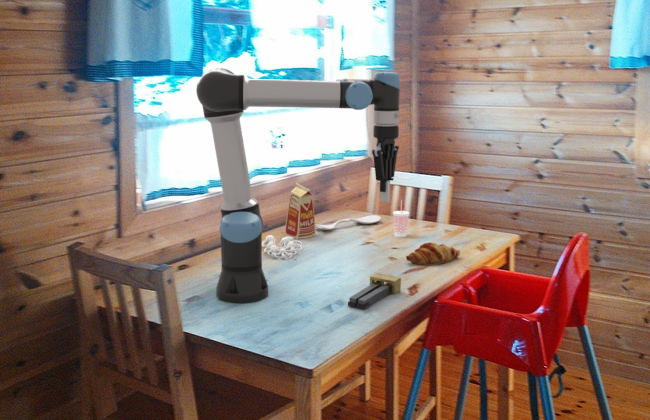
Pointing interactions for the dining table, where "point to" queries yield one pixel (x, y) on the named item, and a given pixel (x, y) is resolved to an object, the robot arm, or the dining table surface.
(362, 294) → the tongs arm
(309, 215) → the milk carton
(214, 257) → the dining table surface
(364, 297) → the tongs fixed arm
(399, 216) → the beverage cup
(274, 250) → the tangled rod sculpture
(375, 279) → the tan block
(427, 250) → the croissant
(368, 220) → the white long curved piece
